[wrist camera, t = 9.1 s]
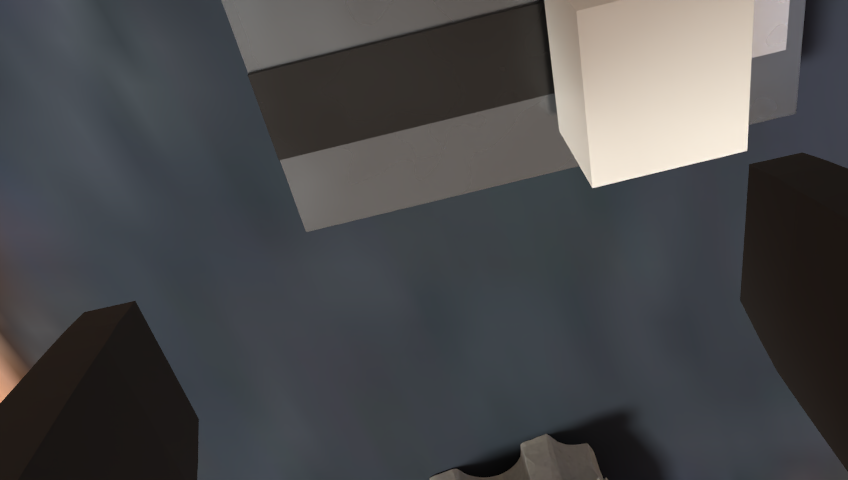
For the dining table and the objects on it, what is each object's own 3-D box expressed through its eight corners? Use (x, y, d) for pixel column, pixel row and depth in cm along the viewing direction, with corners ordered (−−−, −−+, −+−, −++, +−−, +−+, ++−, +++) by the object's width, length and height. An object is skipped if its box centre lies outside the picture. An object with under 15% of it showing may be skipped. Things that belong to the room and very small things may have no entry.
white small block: (695, -69, 15) (755, -33, 13) (695, 97, 17) (747, 150, 15) (540, -31, 15) (576, 11, 13) (559, 130, 17) (592, 187, 15)
